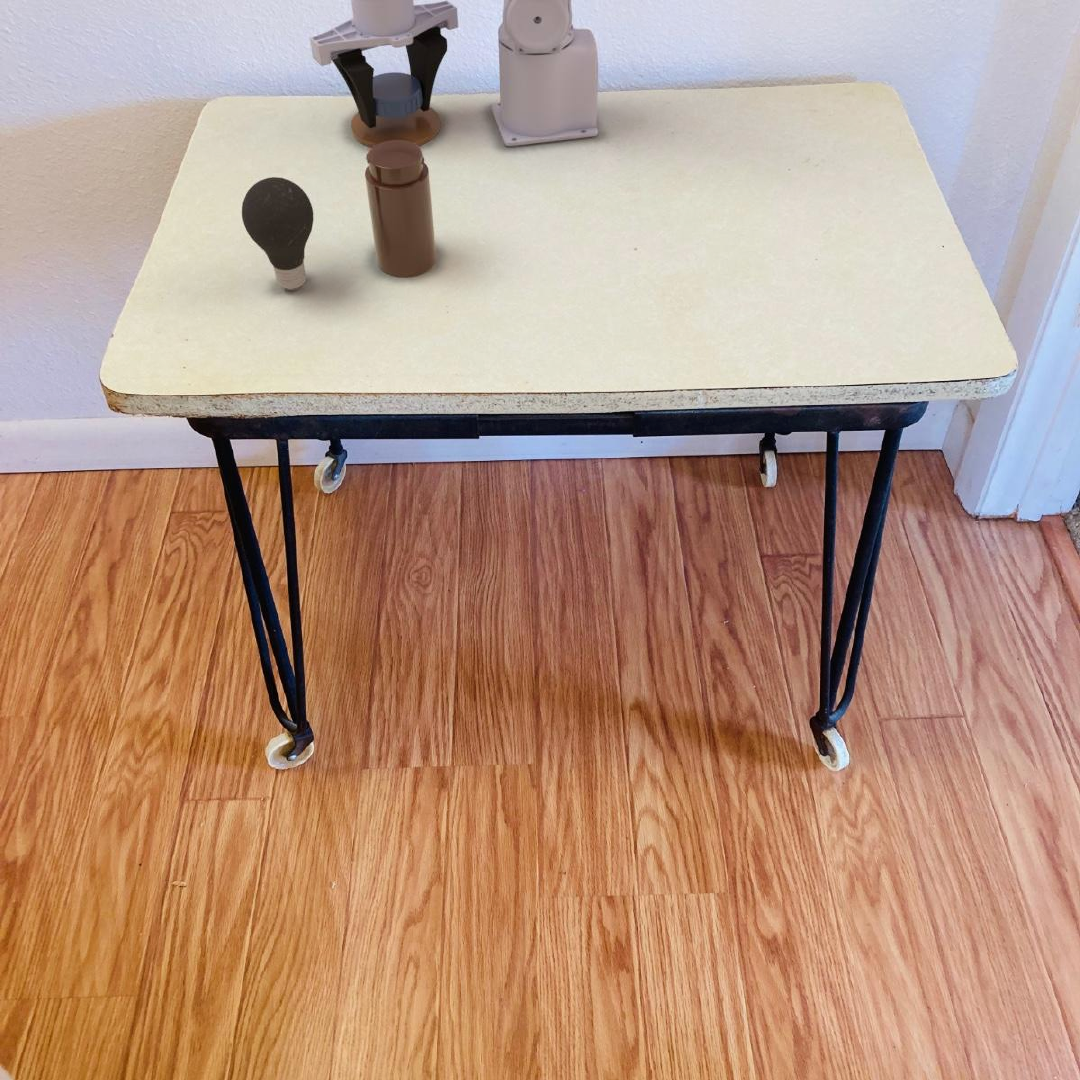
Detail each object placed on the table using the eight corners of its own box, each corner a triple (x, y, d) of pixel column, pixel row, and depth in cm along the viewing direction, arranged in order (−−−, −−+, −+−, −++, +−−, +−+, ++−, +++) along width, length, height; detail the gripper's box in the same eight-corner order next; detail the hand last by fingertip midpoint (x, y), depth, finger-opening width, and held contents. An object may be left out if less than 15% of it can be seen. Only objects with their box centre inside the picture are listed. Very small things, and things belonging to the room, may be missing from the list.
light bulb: (333, 269, 94) (314, 164, 87) (318, 309, 91) (297, 204, 83) (269, 265, 95) (245, 161, 87) (252, 305, 91) (225, 200, 83)
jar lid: (363, 92, 110) (361, 74, 108) (420, 87, 110) (418, 69, 109) (367, 121, 106) (364, 102, 105) (425, 115, 106) (423, 97, 105)
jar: (429, 238, 97) (419, 133, 90) (442, 271, 94) (433, 165, 86) (372, 247, 96) (357, 142, 89) (382, 281, 93) (368, 175, 86)
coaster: (433, 100, 113) (433, 95, 113) (447, 144, 108) (446, 140, 107) (347, 109, 112) (346, 105, 112) (356, 155, 106) (355, 150, 106)
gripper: (324, 9, 94) (346, 153, 104) (470, -30, 99) (477, 112, 109) (291, -21, 98) (316, 121, 108) (433, -56, 103) (443, 83, 113)
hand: (395, 115), depth 109 cm, fingers closed on jar lid, 5 cm apart
